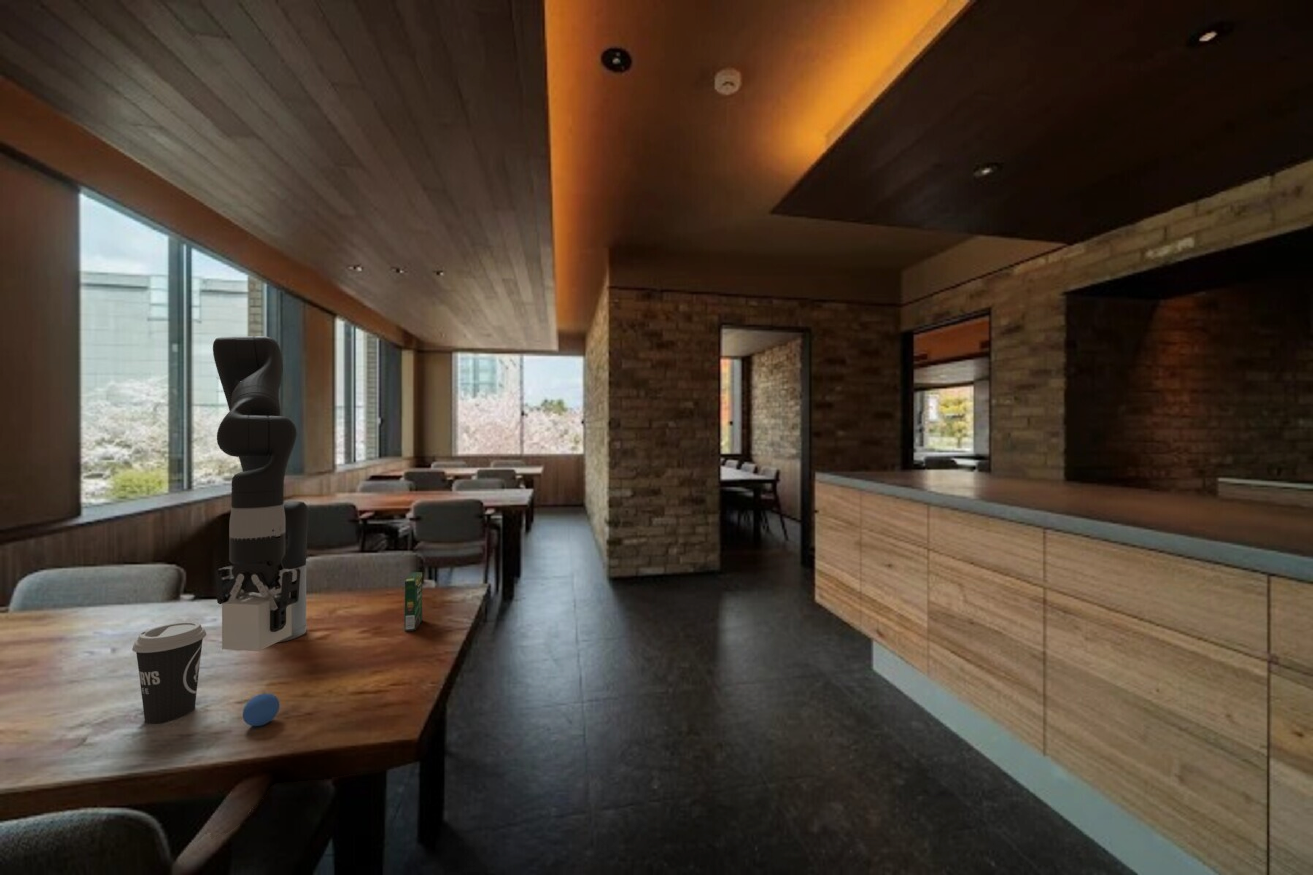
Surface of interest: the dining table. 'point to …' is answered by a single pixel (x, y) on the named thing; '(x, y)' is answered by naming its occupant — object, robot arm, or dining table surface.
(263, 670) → the dining table surface
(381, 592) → the dining table surface
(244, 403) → the robot arm
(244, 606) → the block
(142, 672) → the coffee cup
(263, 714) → the blue egg
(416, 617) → the coffee box
